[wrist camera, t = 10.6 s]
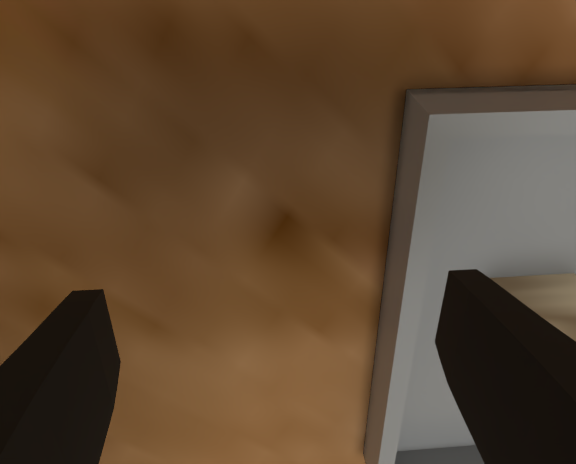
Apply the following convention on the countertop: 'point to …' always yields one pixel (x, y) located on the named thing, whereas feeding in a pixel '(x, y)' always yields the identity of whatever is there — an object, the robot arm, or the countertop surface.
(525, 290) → the block
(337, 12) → the countertop surface
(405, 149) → the tray
